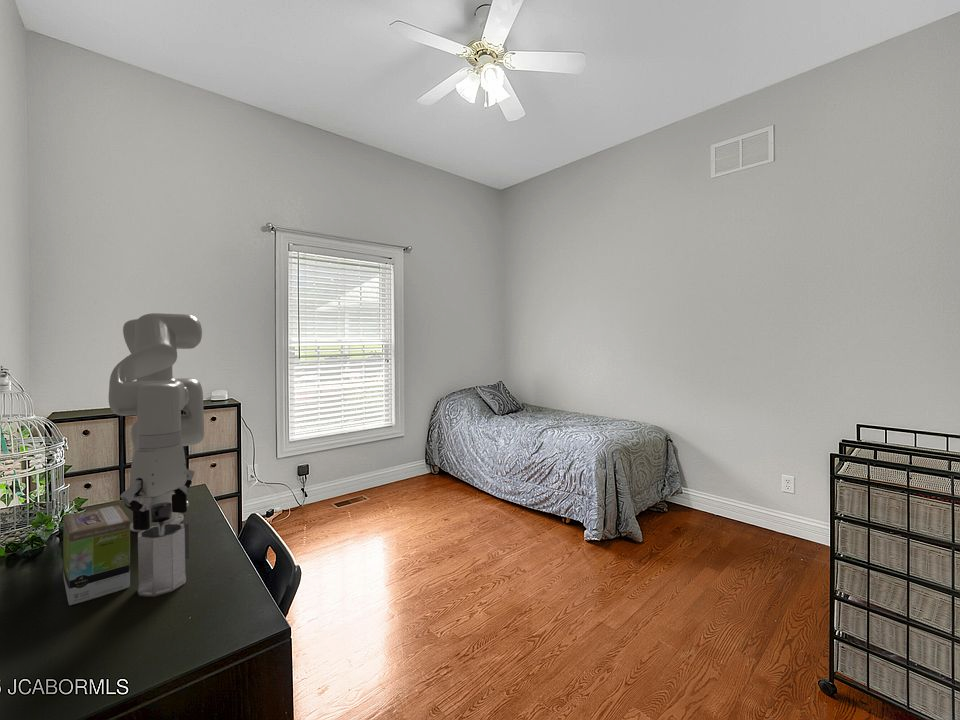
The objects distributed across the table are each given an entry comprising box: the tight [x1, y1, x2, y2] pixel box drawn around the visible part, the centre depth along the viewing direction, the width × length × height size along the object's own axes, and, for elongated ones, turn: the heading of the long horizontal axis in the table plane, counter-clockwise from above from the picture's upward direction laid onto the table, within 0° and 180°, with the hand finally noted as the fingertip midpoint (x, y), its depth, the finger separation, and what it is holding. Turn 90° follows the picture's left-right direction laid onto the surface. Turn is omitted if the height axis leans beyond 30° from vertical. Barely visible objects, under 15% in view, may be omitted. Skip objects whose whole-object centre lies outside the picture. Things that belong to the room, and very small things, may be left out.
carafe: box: [137, 522, 190, 598], centre depth 95 cm, size 11×8×12 cm
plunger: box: [151, 502, 172, 536], centre depth 93 cm, size 5×5×13 cm
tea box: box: [62, 504, 131, 606], centre depth 94 cm, size 15×10×15 cm, turn 47°
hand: (161, 520), depth 93 cm, fingers open, 9 cm apart
